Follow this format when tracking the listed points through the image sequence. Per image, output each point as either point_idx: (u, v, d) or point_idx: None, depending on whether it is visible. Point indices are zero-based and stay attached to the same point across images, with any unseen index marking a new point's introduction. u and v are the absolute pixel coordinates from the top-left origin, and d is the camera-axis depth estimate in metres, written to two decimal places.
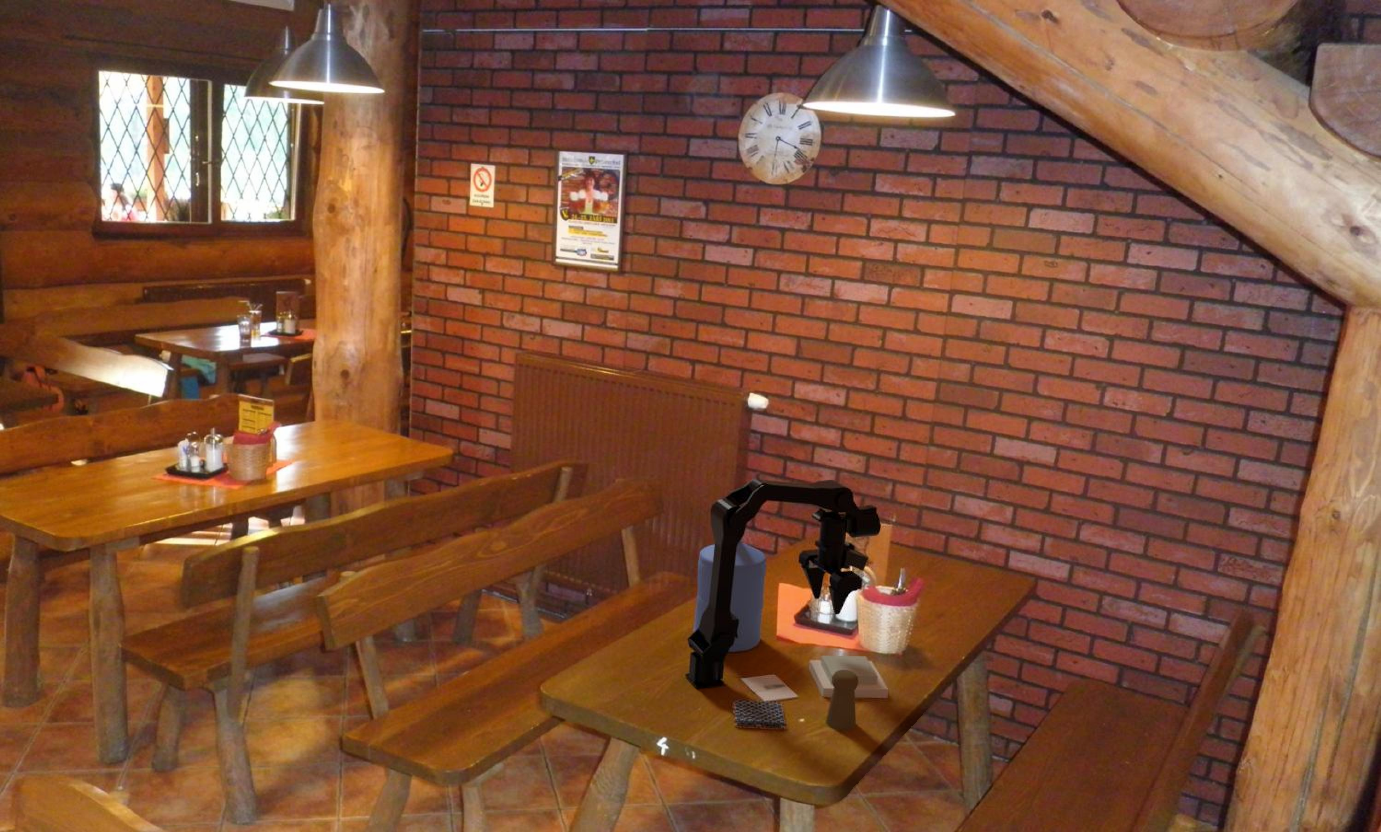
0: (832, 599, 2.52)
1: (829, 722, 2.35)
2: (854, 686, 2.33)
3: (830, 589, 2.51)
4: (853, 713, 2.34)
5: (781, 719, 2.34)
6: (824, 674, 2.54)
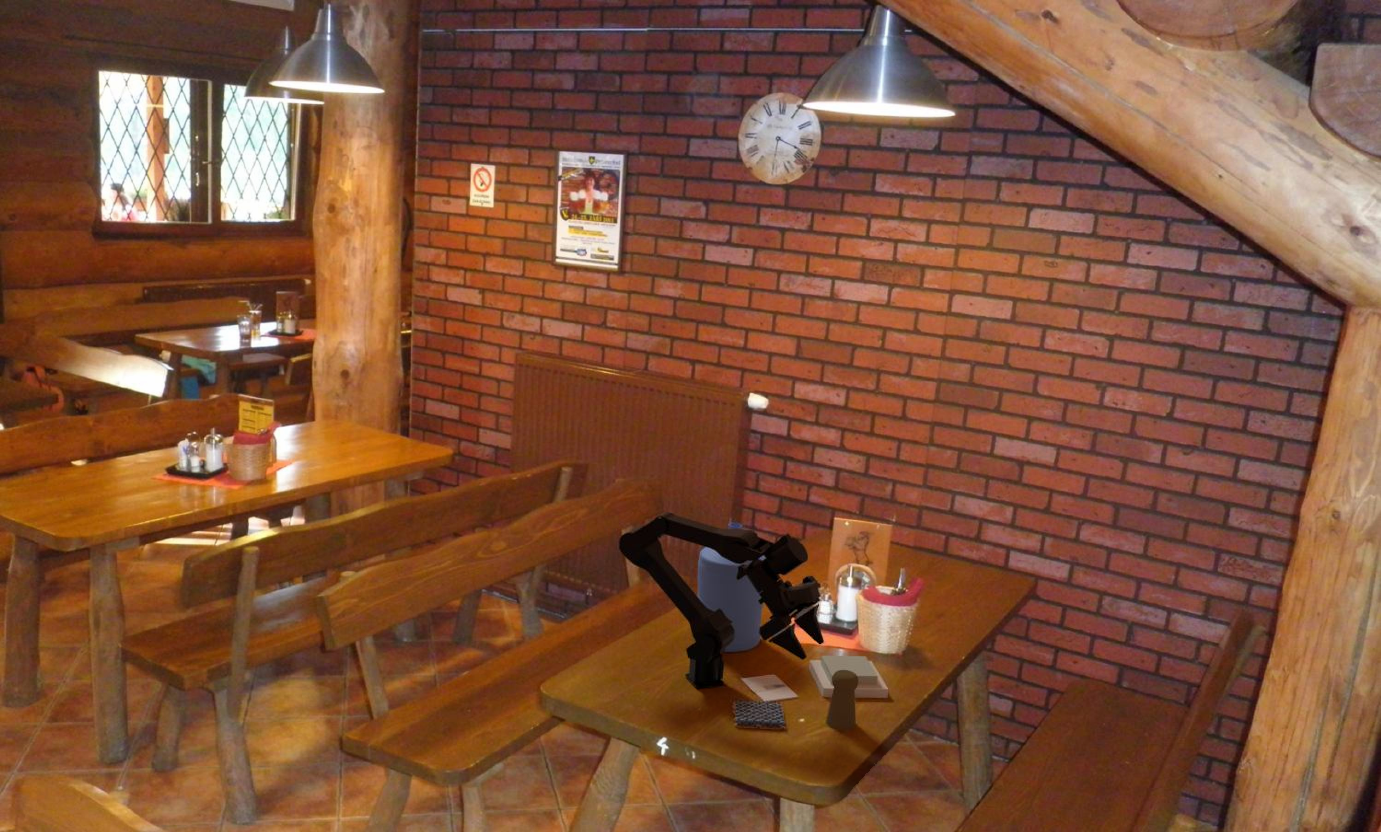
0: None
1: (829, 722, 2.35)
2: (854, 686, 2.33)
3: None
4: (853, 713, 2.34)
5: (781, 719, 2.34)
6: (824, 674, 2.54)
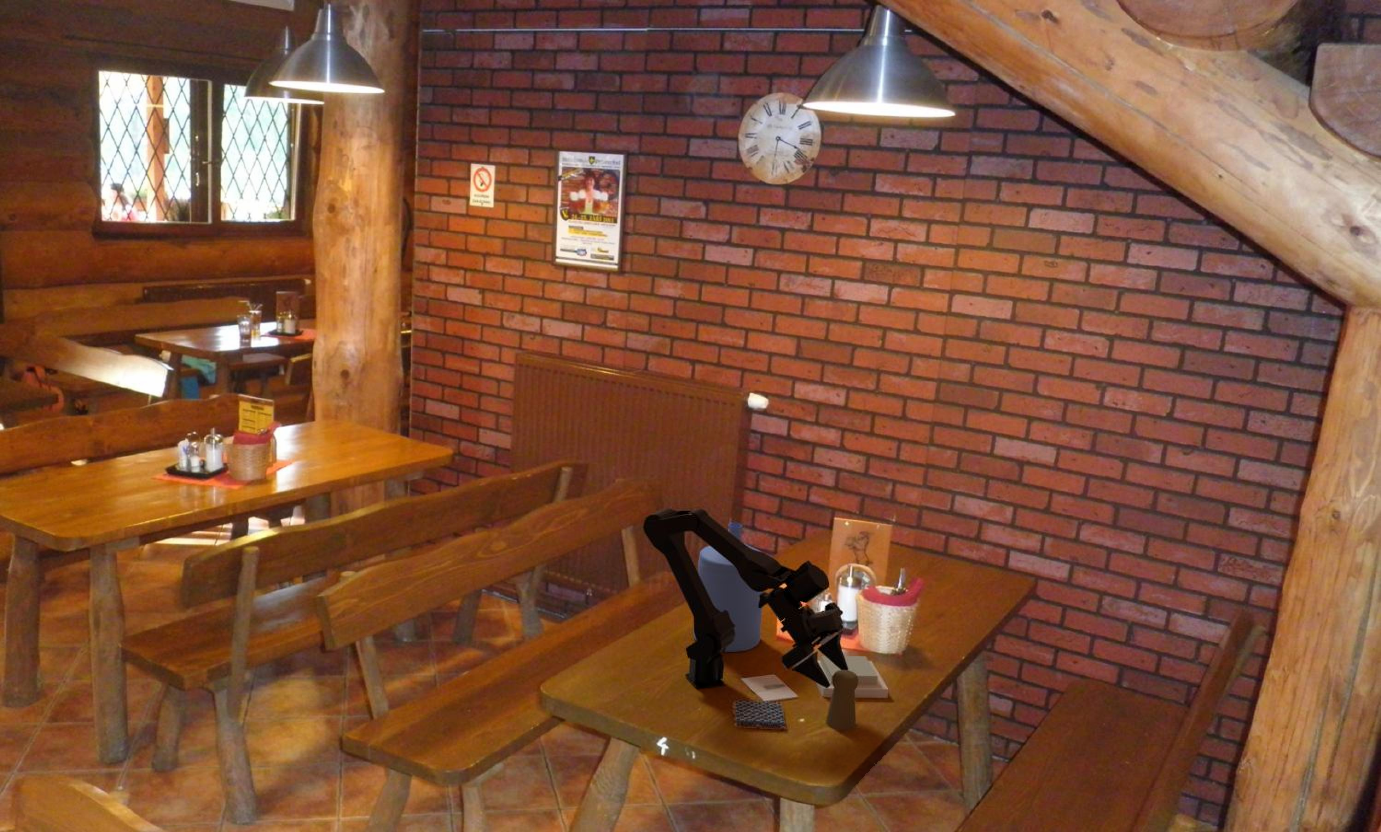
0: None
1: (829, 722, 2.35)
2: (854, 686, 2.33)
3: None
4: (853, 713, 2.34)
5: (781, 719, 2.34)
6: None
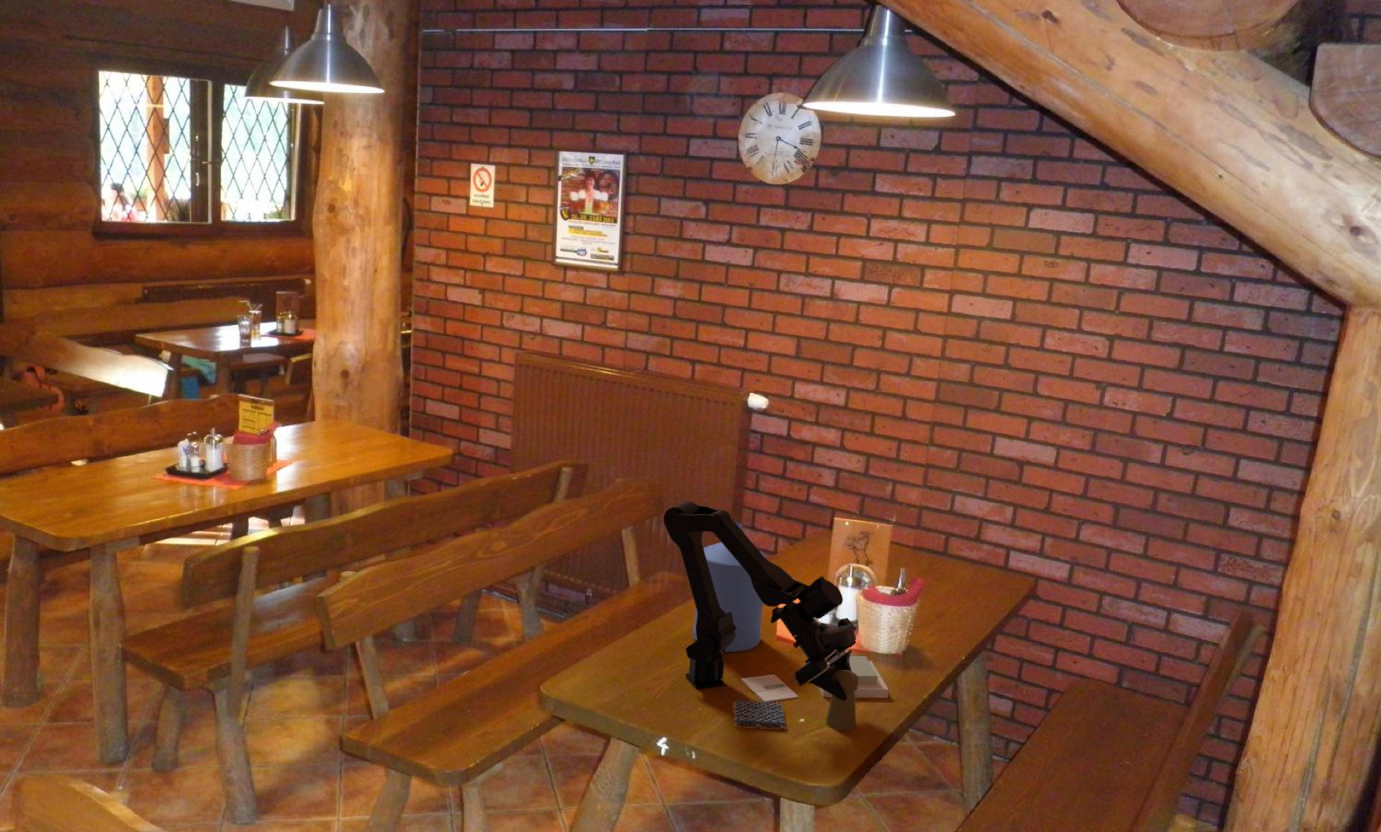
0: None
1: (829, 722, 2.35)
2: (854, 686, 2.33)
3: None
4: (853, 713, 2.34)
5: (781, 719, 2.34)
6: None
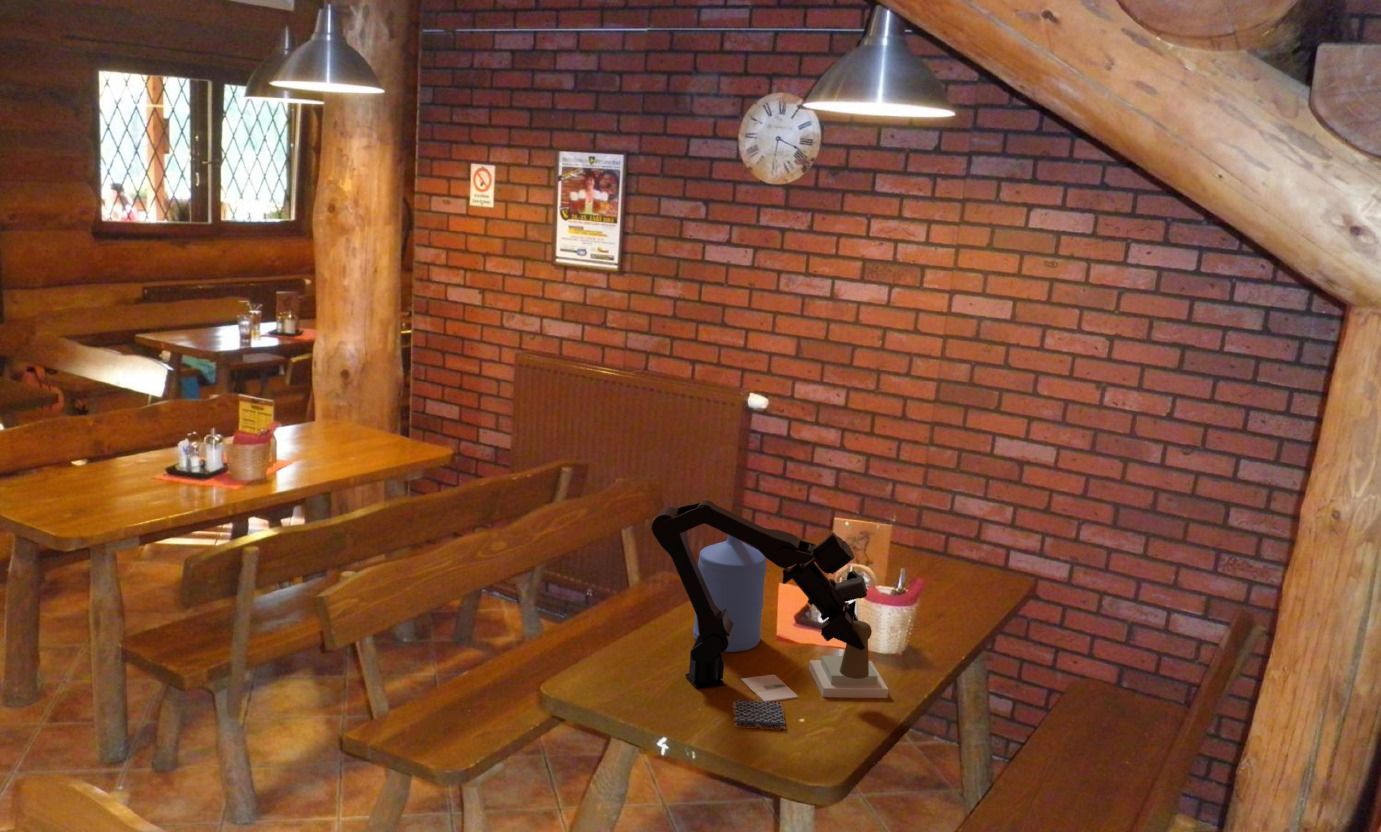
0: None
1: (846, 673, 2.42)
2: (870, 635, 2.41)
3: None
4: None
5: (781, 719, 2.34)
6: (824, 674, 2.54)
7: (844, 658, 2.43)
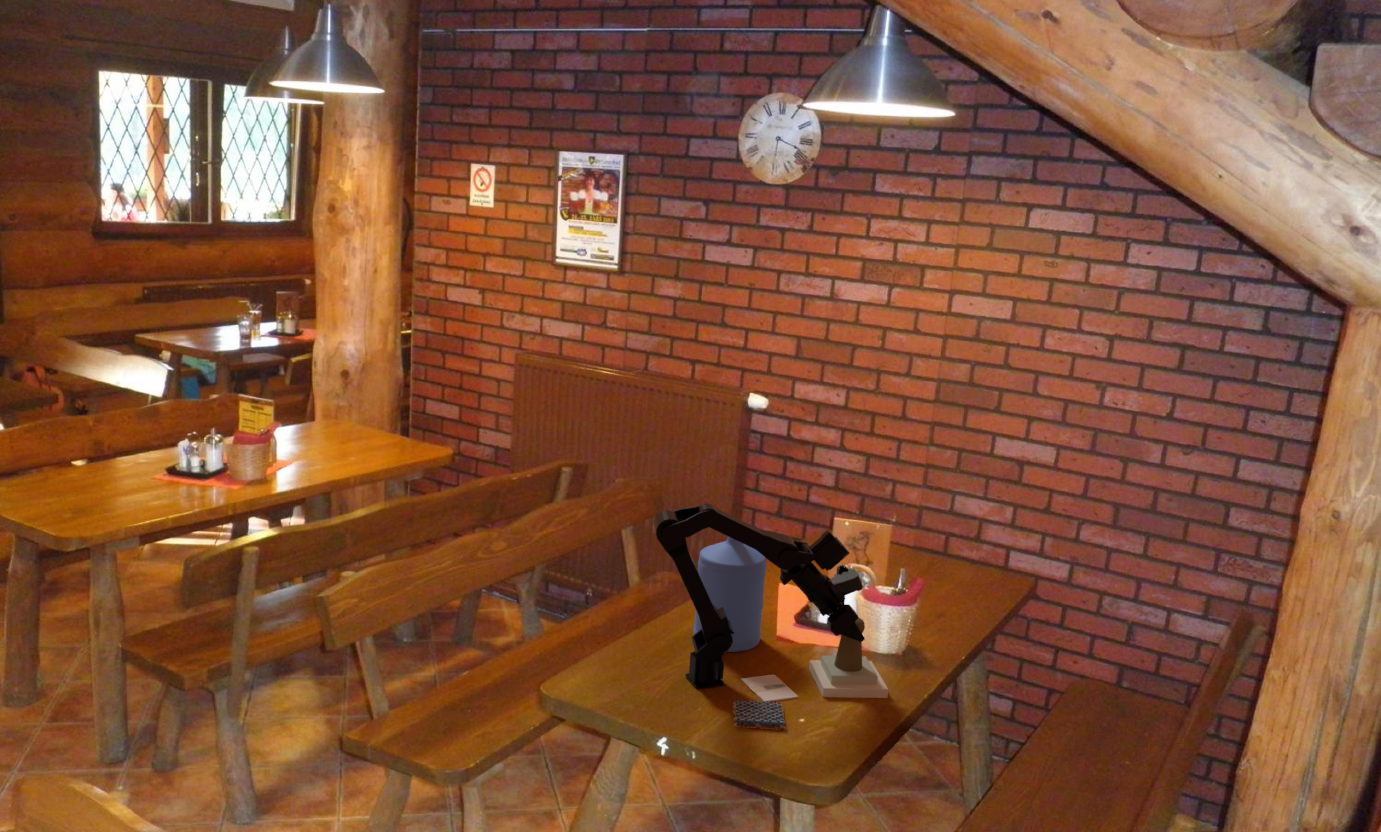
0: None
1: (844, 667, 2.51)
2: (864, 628, 2.52)
3: None
4: (861, 653, 2.53)
5: (781, 719, 2.34)
6: (824, 674, 2.54)
7: (840, 653, 2.52)
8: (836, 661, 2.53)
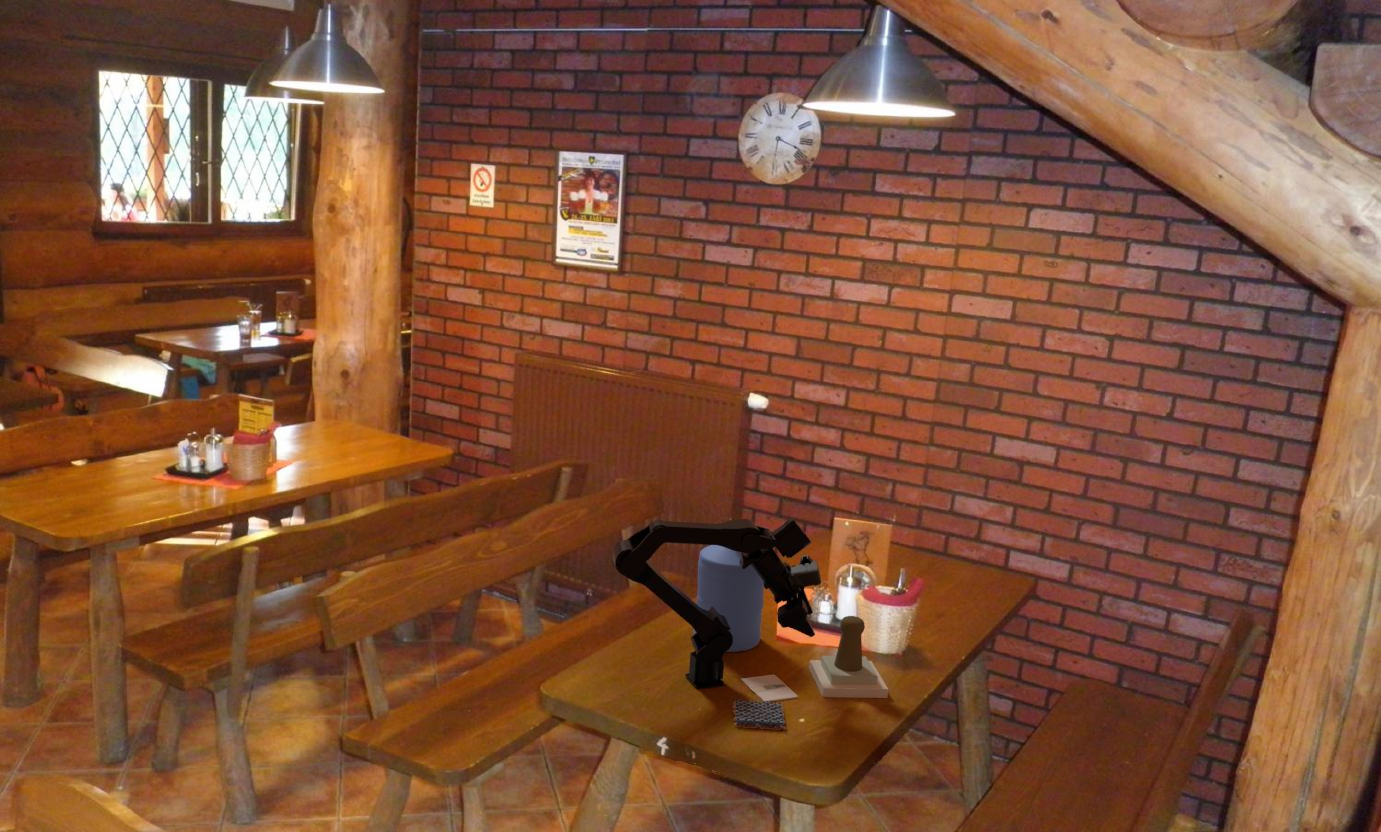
0: None
1: (844, 667, 2.51)
2: None
3: None
4: (861, 653, 2.53)
5: (781, 719, 2.34)
6: (824, 674, 2.54)
7: (840, 653, 2.52)
8: (836, 661, 2.53)
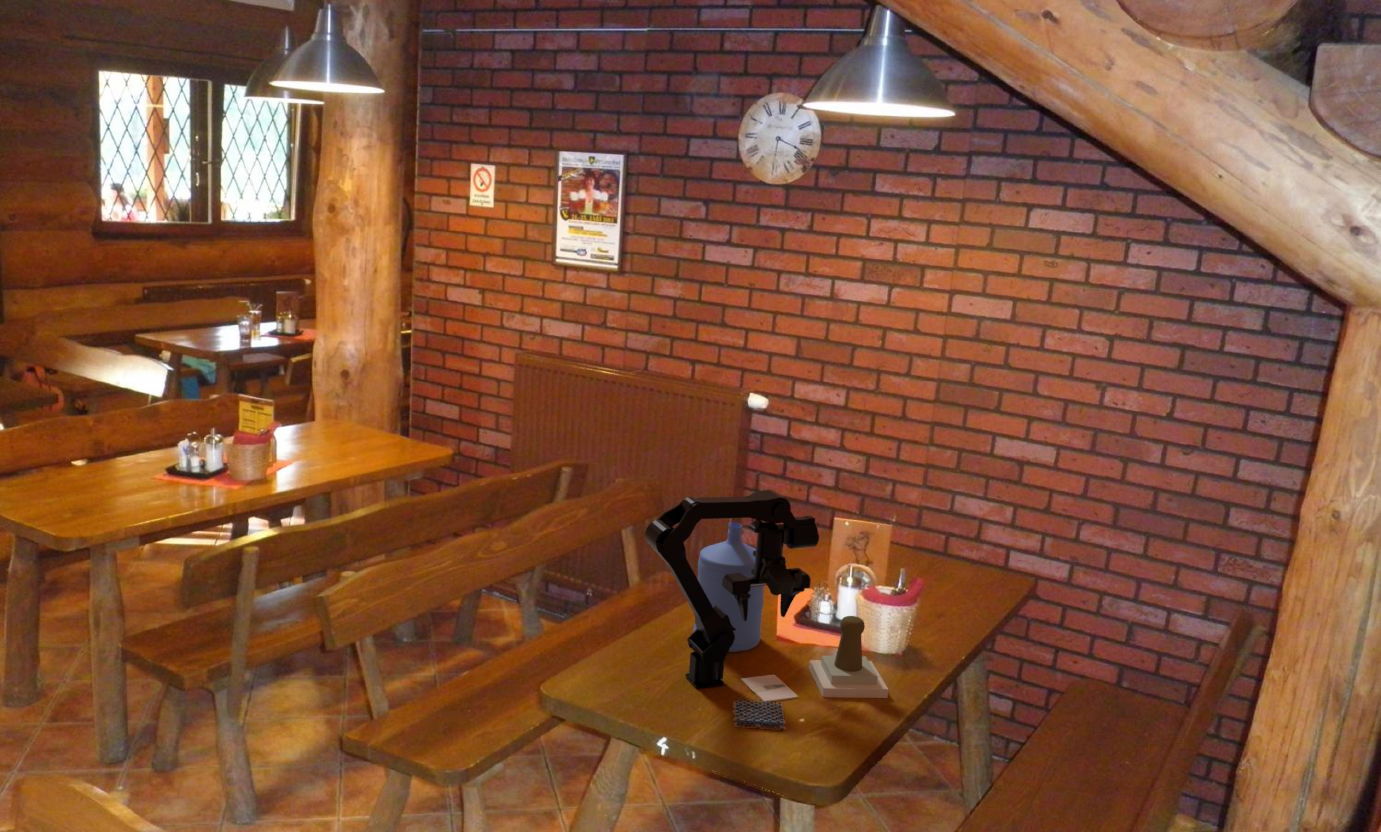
0: None
1: (844, 667, 2.51)
2: None
3: None
4: (861, 653, 2.53)
5: (781, 719, 2.34)
6: (824, 674, 2.54)
7: (840, 653, 2.52)
8: (836, 661, 2.53)
